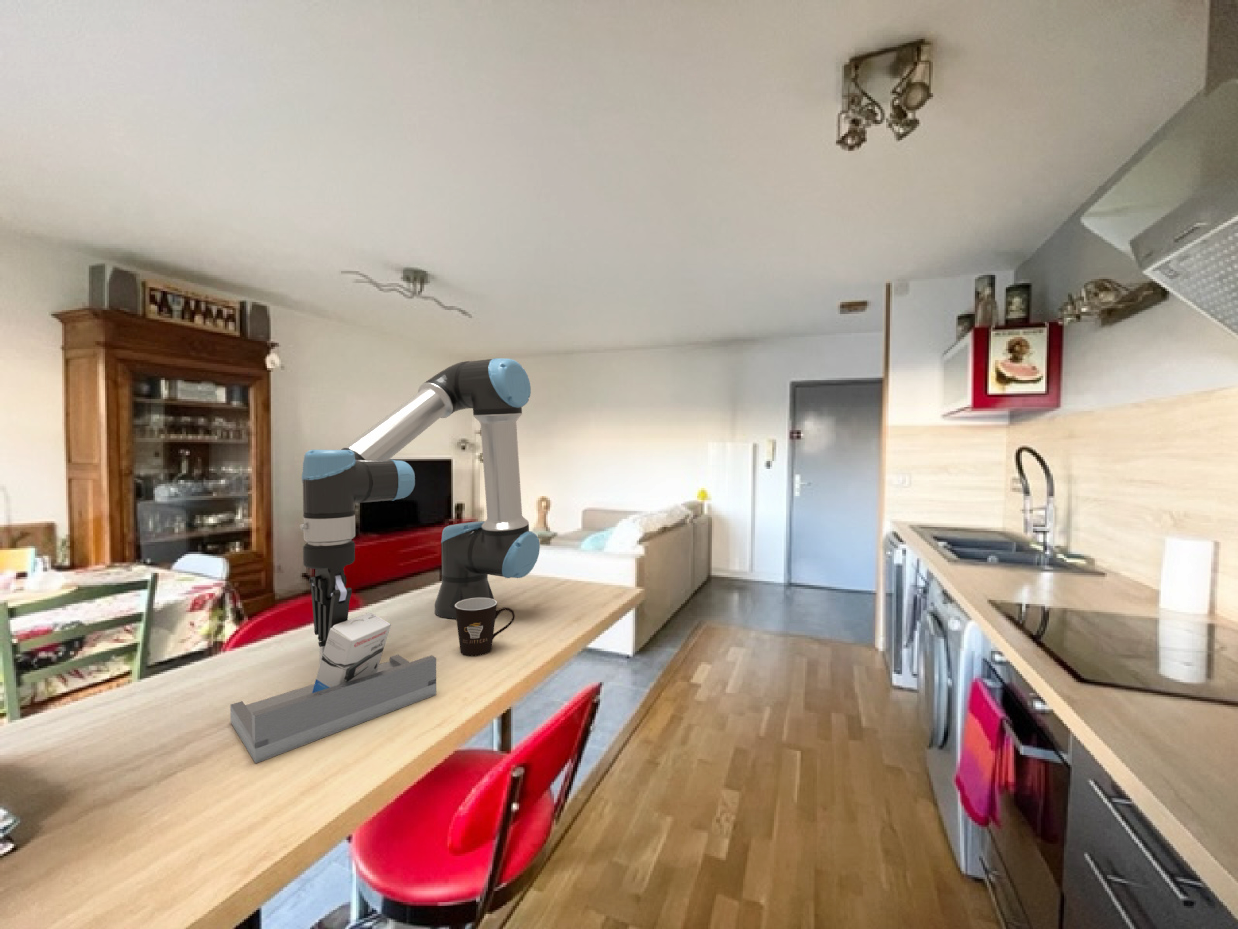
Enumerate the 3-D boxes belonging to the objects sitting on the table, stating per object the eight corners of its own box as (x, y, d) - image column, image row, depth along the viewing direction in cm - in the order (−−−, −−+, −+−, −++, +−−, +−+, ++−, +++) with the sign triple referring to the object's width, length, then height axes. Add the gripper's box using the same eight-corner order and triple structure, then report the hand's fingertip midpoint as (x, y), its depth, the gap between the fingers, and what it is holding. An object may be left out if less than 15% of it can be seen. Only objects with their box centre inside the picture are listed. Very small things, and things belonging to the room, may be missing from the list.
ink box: (333, 708, 78) (351, 641, 77) (310, 693, 80) (328, 627, 78) (375, 684, 86) (392, 622, 85) (353, 671, 88) (370, 610, 86)
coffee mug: (446, 656, 103) (446, 608, 103) (468, 640, 111) (468, 596, 111) (498, 662, 100) (498, 613, 100) (516, 646, 109) (516, 600, 108)
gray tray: (397, 668, 97) (397, 635, 97) (436, 694, 87) (436, 657, 87) (230, 722, 78) (230, 681, 77) (255, 763, 67) (254, 716, 67)
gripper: (292, 539, 85) (292, 675, 86) (317, 550, 77) (318, 701, 77) (339, 534, 91) (339, 661, 92) (368, 543, 82) (368, 685, 83)
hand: (330, 679), depth 84 cm, fingers closed
